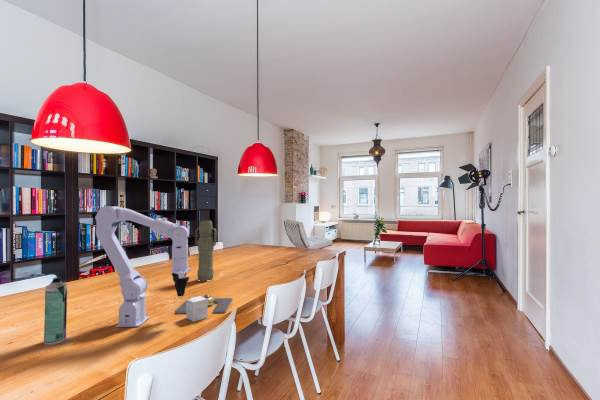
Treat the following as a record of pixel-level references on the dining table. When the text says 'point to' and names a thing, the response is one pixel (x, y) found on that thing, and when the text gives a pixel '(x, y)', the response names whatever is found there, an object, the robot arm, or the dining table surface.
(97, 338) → the dining table surface
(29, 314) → the dining table surface
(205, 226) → the thermos
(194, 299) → the skincare box
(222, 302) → the carrier plate
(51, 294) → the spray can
